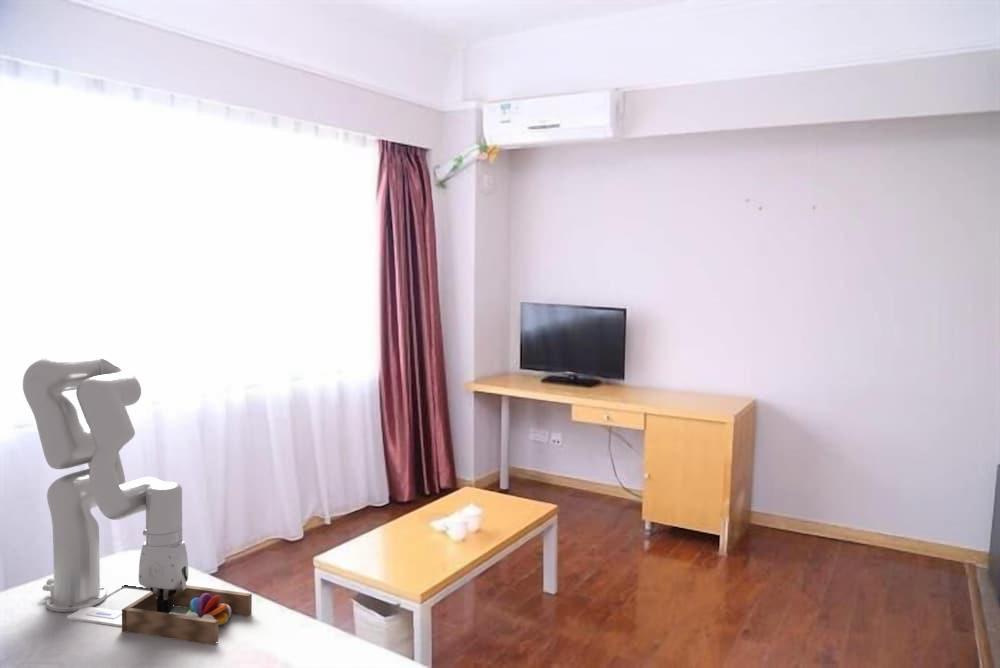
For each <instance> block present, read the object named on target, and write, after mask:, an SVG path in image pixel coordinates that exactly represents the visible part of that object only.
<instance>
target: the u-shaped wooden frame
mask: <svg viewBox="0 0 1000 668" xmlns="http://www.w3.org/2000/svg"><path fill="white" fill-rule="evenodd" d="M186 586H187V589H186V590H185V591H183V592H179V593H175V595H173V605H174V606H173V607H177V606H180V607H179V608H184V607H185V608H186V609H190V602H191V600H192V599H194V598H200V597H201V595H202V594H204V593H208V594H210V595H211V596H212V597H214V596H215V595H218V596H220V601H219V603H218V605H219V604H227V605H229V606H230V608H231V615H236V616H243V617H250V616H251V615H252V610H253V607H252V605H253V604H252V601H253V599H252V595H253V594H252V593H249V592H241V591H233V590H227V589H226V590H225V589H217V588H211V587H202V586H194V585H187V584H186ZM218 605H217V606H218ZM185 608H184V609H185ZM121 611H122V627H121V632H125V633H131V634H132V633H133V634H140V635H144V636H152V637H159V638H164V639H165V638H166V639H173V640H178V641H184V642H191V643H200V644H205V643H207V644H206V645H211V644H215V643H216V642H218V643H219V625H218V620H213V619H206V618H199V617H192V616H185V615H186V614H185V615H183V614H177V613H176V614H175V613H172V612H170V613H163V612H157V599H155V598H154V594H153V592H152V591H151V590H150V591H149V592H148V593H146V594H145V595H143V596H142V597H140V598H138V599H136V600H135V601H134V602H132V603H130V604H129V605H127V606H125V607H123V608H122V609H121ZM215 645H216V644H215Z"/></svg>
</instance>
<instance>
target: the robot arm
mask: <svg viewBox="0 0 1000 668" xmlns="http://www.w3.org/2000/svg"><path fill="white" fill-rule="evenodd" d="M23 375H24V376H23V379H22V390H23V395H24V397H25V399H26V402H27V403H28V405H29V407H30V409H31V412H32V414H33V416H34V420H35V424H36V428H37V431H38V436H39V440H40V444H41V448H42V451H43V455H44V458H45V460H46V463H47V464H48V466H49V467H50V468H51V469H54V470H65V469H70V468H75V467H78V466H82V465H86V464H87V465H88V468H87V469H82V470H79V471H78V470H77V471H75V472H72V473H68V474H65V475H63V476H60V477H59V478H57V479H56V480H54V481H53V482H52V483H51V484H50V486H49V487H48V489H47V493H46V500H47V504H48V508H49V512H50V517H51V524H52V525H51V526H52V543H53V545H52V546H53V548H52V549H53V578H48V580H47V581H46V584H44V585H43V586H42V591H44V592H45V591H46V592H50V596H49V597H48V598H47V600H46V605H45V606H46V608H47V609H48V610H49V611H52V612H56V613H69V612H76V611H78V610H79V609H83V608H86V607H95V606H96V605H99V604H100V603H102V602H103V601H105V599H107V598H106V596H107V593H108V589H107V588H106V586H105V587H104V586H102V585H101V583H100V582H101V578H100V577H101V576H100V575H101V574H100V573H101V569H100V568H101V567H100V566H101V565H100V563H101V562H100V527H99V526H100V525H99V523H98V520H97V519H96V518H95V517H94V515H93V514H92V512H91V509H94V508H96V507H98V509H99V511H100V512H101V513H102V515H103V516H105V518H107V519H109V520H112V521H113V520H116V521H119V520H122V519H125V518H127V517H130V516H132V515H136V514H138V513H141V512H144V511H145V529H144V530H143V531H142V535H143V536H145V541H144V542H143V544H142V547H141V550H140V557H139V565H138V583H139V585H140V586H143V587H145V588H144V589H146V588H148V589H147V590H150V592H151V591H152V592H153V594H154V598H155V599H157V612H163V613H172V611H173V609H174V606H173V595H175V593H179V592H183V591H185V590H186V589H187V586H186V585H187V584H186V583H187V581H188V579H189V561H188V553H187V546H186V543H185V541H184V540H183V488H182V485H181V484H180V483H178V482H176V481H175V482H174V481H163V480H161V479H159V478H156V477H154V476H142V477H139V478H136V479H133V480H130V481H127V482H126V477H125V472H124V468H123V463H122V461H121V460H122V459H121V457H120V456H121V455H120V451H121V450H122V449H123V447H124V446H126V444H128V443H129V442H130V441H131V440H133V438H134V437H135V435H136V432H135V428H134V426H133V424H132V421H131V418H130V416H129V414H128V411H127V408H126V406H127V407H128V406H132V405H134V404H136V403H137V402H138V401H139V400H140V398H141V396H142V386H141V384H140V382H139V380H138V379H137V377H136V376H135V375H134V374H132V373H131V372H130V371H128V370H127V369H125V368H124V367H122V366H120V365H119V364H116V362H114V361H112V360H111V359H108V358H107V357H105V356H102V355H101V354H97V353H79V354H72V355H71V354H69V355H58V356H52V357H51V356H50V357H45V358H43V359H42V358H41V359H38V360H36V361H35V362H33V363H32V364H30V365H29V366H28V368H27V369H26V371H25V372H24V374H23ZM74 390H76V392H75V393H76V399H77V401H78V403H79V406H80V408H81V412H82V414H83V417H84V419H85V421H86V422H85V423H86V424H83V425H82V424H81V422H80V420H79V415H78V412H77V409H76V407H75V405H74V404H73V403H72V402H71V400H70V399H68V398H67V397H66V396H65V395H64V394H63V393H64V392H67V391H74Z"/></svg>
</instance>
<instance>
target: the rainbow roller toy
mask: <svg viewBox="0 0 1000 668" xmlns="http://www.w3.org/2000/svg"><path fill="white" fill-rule="evenodd" d="M219 601H220V596H218V595H215V596H214V597H212V596H211V595H210V594H208V593H204V594H202V595H201V597H200V598H194V599H192V600H191V602H190V608H189V610H188V611H187V612H186V614H185V616H192V617H199V618H206V619H213V620H218V626H221V625H224V624H226V623H227V621H228V620H229V619H230V617H231V615H232V614H231V608H230V606H229V605H227V604H219V605H218V603H219ZM217 605H218V606H217Z"/></svg>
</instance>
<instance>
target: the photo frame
mask: <svg viewBox="0 0 1000 668" xmlns="http://www.w3.org/2000/svg"><path fill="white" fill-rule="evenodd" d="M124 585H128V586H127V587H131V586H136V587H135V588H139V587H143V586H142V585H140V584H139V585H138V584H130V583H129V584H128V583H123V584H122V585H120V586H118V587H116V588H114V589H112V590H111V591H109V592H107V596H106V598H105V599H107V598H108V596H109V597H110V596H112V595H114V594H116V593H117V592H119V591H120V589H121V588H122V589H123V587H125V586H124ZM122 586H123V587H122ZM122 589H121V590H122ZM142 589H146V588H145V587H143V588H142ZM118 590H119V591H118ZM116 591H117V592H116ZM113 593H114V594H113ZM111 594H112V595H111ZM66 619H67V620H72V621H79V622H87V623H94V624H99V625H100V624H102V625H106V626H114V627H121V628H122V610H116V609H109V608H101V607H95V606H92V607H86V608H83V609H79V610H78V611H73V613H71V614H69V615H67V616H66Z"/></svg>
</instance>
